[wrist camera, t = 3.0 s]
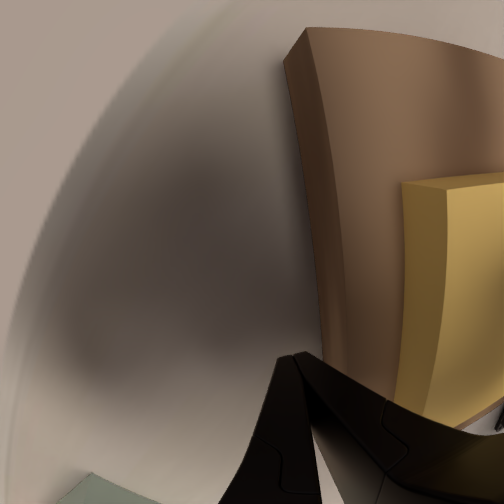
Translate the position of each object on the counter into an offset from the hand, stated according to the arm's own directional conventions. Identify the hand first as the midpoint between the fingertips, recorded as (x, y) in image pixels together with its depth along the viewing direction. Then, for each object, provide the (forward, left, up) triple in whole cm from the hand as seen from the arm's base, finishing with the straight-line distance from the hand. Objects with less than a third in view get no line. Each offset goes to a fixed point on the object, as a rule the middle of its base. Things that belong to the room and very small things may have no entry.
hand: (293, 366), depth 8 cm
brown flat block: (-7, 0, -3) cm, 8 cm away
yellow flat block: (-7, 0, 0) cm, 7 cm away
